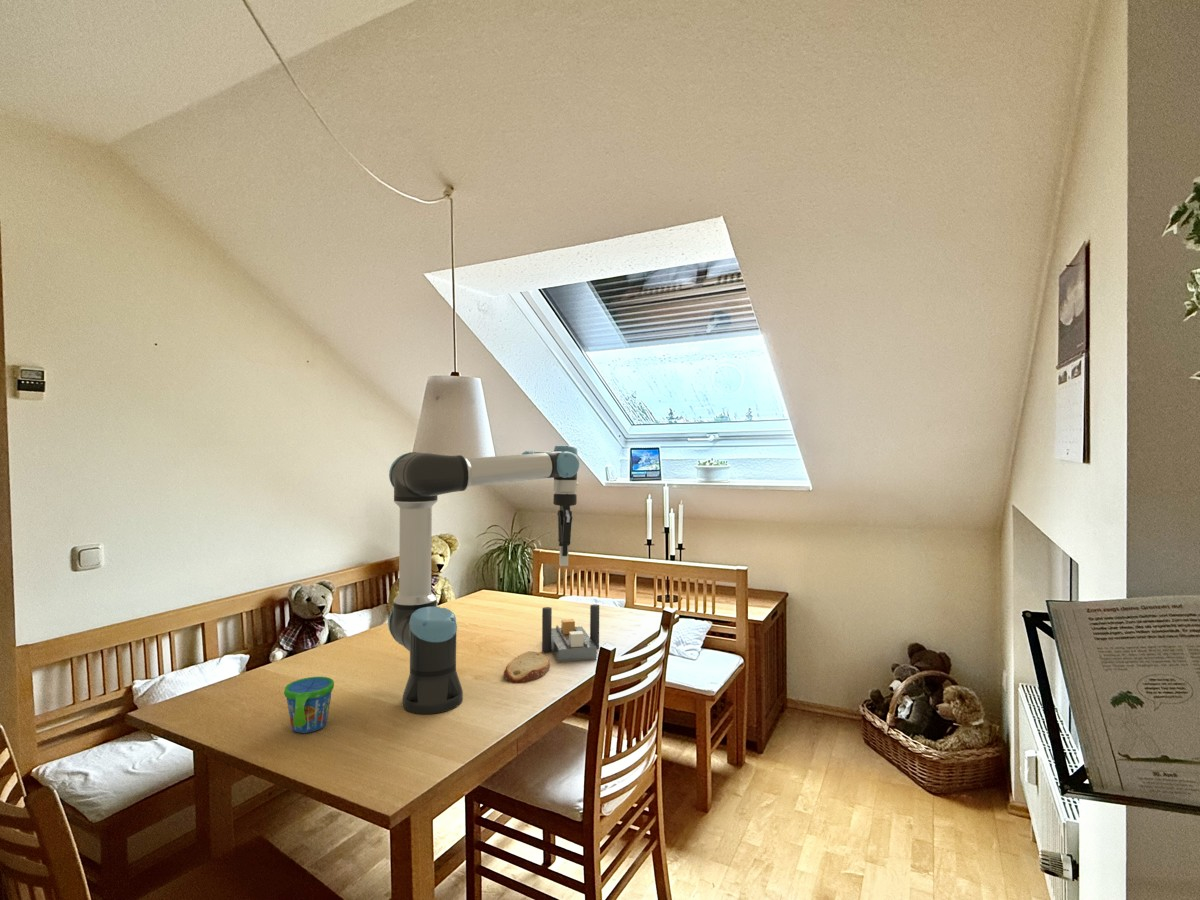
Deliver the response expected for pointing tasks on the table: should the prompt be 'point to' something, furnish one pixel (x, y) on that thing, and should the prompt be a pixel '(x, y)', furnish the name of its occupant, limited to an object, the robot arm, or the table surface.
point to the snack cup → (309, 703)
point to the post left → (546, 629)
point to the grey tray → (572, 653)
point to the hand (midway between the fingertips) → (563, 565)
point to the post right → (594, 624)
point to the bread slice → (527, 667)
